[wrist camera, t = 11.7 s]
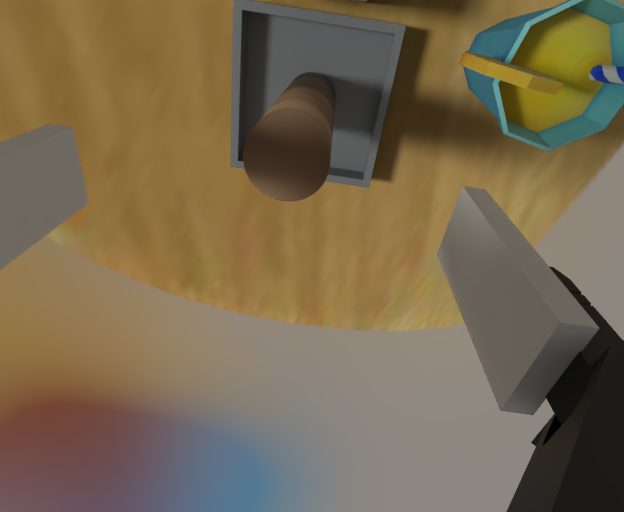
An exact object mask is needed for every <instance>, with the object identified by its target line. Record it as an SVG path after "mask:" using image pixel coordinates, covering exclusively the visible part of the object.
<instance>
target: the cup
mask: <svg viewBox="0 0 624 512" xmlns="http://www.w3.org/2000/svg"><path fill="white" fill-rule="evenodd" d="M459 64H460V65H462V66H463V67H464V71H465V75H466V79H467V83H468V87H469V89H470V90H471V92H472V93H473V94H474V95H475V96H476V97H477V98H478V99H479V100H480V101H481V102H482V103H483V104H484V105H485V106H486V107H487V108H488V109H489V111H490V112H491V113H492V114H493V115H494V116H495V117H496V118H497V119H498V124H499V128H500V130H501V131H502V132H503V134H505V135H507V136H510V137H512V138H515V139H517V140H520V141H523V142H525V143H528V144H530V145H533V146H535V147H538V148H540V149H543V150H546V151H548V152H549V151H551V150H554V149H556V148H559V147H561V146H564V145H567V144H569V143H572V142H574V141H577V140H579V139H582V138H584V137H587V136H590V135H592V134H595V133H597V132H600V131H602V130H605V129H606V128H607V126H608V125H609V124H610V122H611V121H612V120H613V118H614V117H615V116H616V114H617V113H618V112H619V110H620V109H621V108H622V106H623V105H624V4H622V3H620V2H618V1H616V0H568V1H566V2H564V3H562V4H560V5H558V6H556V7H552V8H548V9H545V10H541V11H537V12H533V13H530V14H526V15H522V16H518V17H515V18H511V19H507V20H504V21H502V22H500V23H498V24H496V25H494V26H492V27H490V28H488V29H486V30H484V31H482V32H480V33H478V34H477V35H476V37H475V39H474V41H473V43H472V45H471V47H470V49H469V51H466V52H464V53H463V55H462V57H461V60H460V62H459Z"/></svg>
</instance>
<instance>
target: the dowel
mask: <svg viewBox="0 0 624 512" xmlns="http://www.w3.org/2000/svg"><path fill="white" fill-rule="evenodd" d="M335 101H336V96H335V91H334V88H333V86H332V84H331V82H330V81H329V80H328V79H327V78H326V77H325V76H323V75H321V74H319V73H315V72H307V73H303V74H301V75H299V76H297V77H296V78H295V79H294V80H293V81H292V82H291V84H290V85H289V86H288V87H287V88H286V90H285V91H284V92H283V93H282V94H281V96H280V97H279V98H278V99H277V100H276V102H275V103H274V104H273V105H272V106H271V108H270V109H269V110H268V111H267V112H266V114H265V115H264V116H263V117H262V119H261V120H260V121H259V122H258V123H257V125H256V126H255V127H254V128H253V129H252V131H251V132H250V133H249V135H248V137H247V139H246V142H245V145H244V149H243V162H244V167H245V170H246V173H247V175H248V177H249V179H250V180H251V182H252V183H253V184H254V186H255V187H256V188H257V189H258V190H260V191H261V192H262V193H264V194H265V195H267V196H269V197H271V198H273V199H276V200H280V201H298V200H302V199H305V198H307V197H309V196H311V195H312V194H314V193H315V192H316V191H317V190H318V189H319V188H320V187H321V186H322V185H323V183H324V182H325V180H326V178H327V175H328V173H329V168H330V159H331V147H332V136H333V124H334V112H335Z"/></svg>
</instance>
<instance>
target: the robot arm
mask: <svg viewBox="0 0 624 512" xmlns="http://www.w3.org/2000/svg"><path fill="white" fill-rule="evenodd" d="M88 203H89V202H88V197H87V192H86V188H85V183H84V178H83V174H82V169H81V165H80V160H79V155H78V151H77V146H76V141H75V137H74V132H73V127H67V126H60V125H53V124H48V125H45V126H42V127H40V128H37V129H34V130H32V131H29V132H26V133H24V134H21V135H19V136H16V137H13V138H11V139H8V140H5V141H3V142H0V270H1V269H2V268H3V267H5V266H6V265H7V264H8V263H10V262H11V261H13V260H14V259H15V258H16V257H18V256H19V255H20V254H22V253H23V252H24V251H26V250H27V249H28V248H30V247H31V246H32V245H34V244H35V243H36V242H38V241H39V240H40V239H42V238H43V237H44V236H46V235H47V234H48V233H50V232H51V231H52V230H54V229H55V228H56V227H58V226H59V225H60V224H62V223H63V222H64V221H66V220H67V219H68V218H69V217H71V216H72V215H73V214H75V213H76V212H77V211H79V210H80V209H81V208H83V207H84V206H85V205H87V204H88ZM437 255H438V257H439V260H440V262H441V265H442V267H443V270H444V272H445V275H446V277H447V280H448V282H449V285H450V287H451V290H452V292H453V295H454V297H455V299H456V302H457V304H458V307H459V309H460V312H461V314H462V317H463V319H464V322H465V324H466V327H467V329H468V331H469V334H470V337H471V339H472V341H473V344H474V346H475V349H476V351H477V354H478V356H479V359H480V361H481V364H482V366H483V369H484V371H485V374H486V376H487V379H488V381H489V384H490V386H491V388H492V391H493V393H494V396H495V398H496V401H497V403H498V406H499V408H500V410H501V411H507V412H514V413H521V414H529V415H534V413H535V412H536V411H537V409H538V408H539V407H540V406H541V404H542V403H543V402H544V400H545V399H546V398H547V400H548V402H549V404H550V406H551V407H552V409H553V411H554V413H555V414H554V415H553V416H552V418H551V419H550V420H549V421H548V423H547V424H546V425H545V426H544V427H543V429H542V430H541V431H540V432H539V434H538V435H537V436H536V437H535V438H534V440H533V441H532V444H534V445H535V446H536V448H535V451H534V453H533V455H532V457H531V459H530V461H529V464H528V466H527V468H526V470H525V472H524V475H523V477H522V479H521V481H520V483H519V486H518V488H517V490H516V492H515V494H514V497H513V499H512V501H511V503H510V505H509V508H508V510H507V512H624V341H623V340H622V339H621V338H620V337H619V336H618V334H617V333H616V332H615V331H614V330H613V329H612V327H611V326H610V325H609V324H608V323H607V322H606V320H605V319H604V318H603V317H602V316H601V315H600V314H599V312H598V311H597V310H596V309H595V308H594V307H593V306H591V303H590V302H589V301H588V300H587V298H586V297H585V296H584V295H581V292H580V290H579V289H578V288H577V287H576V286H575V285H574V284H573V282H572V281H571V280H570V279H569V278H567V277H566V276H565V275H563V274H562V273H560V272H559V271H557V270H556V269H555V268H553V267H549V266H548V265H547V264H546V263H545V261H544V260H543V259H542V258H541V257H540V255H539V254H538V253H537V252H536V251H535V249H534V248H533V247H532V246H531V244H530V243H529V242H528V241H527V240H526V238H525V237H524V236H523V235H522V234H521V232H520V231H519V230H518V229H517V228H516V226H515V225H514V224H513V223H512V221H511V220H510V219H509V218H508V217H507V215H506V214H505V213H504V212H503V211H502V209H501V208H500V207H499V206H498V204H497V203H496V202H495V201H494V200H493V198H492V197H491V196H490V195H489V194H488V192H487V191H486V190H485V189H478V188H472V187H465V186H463V187H462V190H461V192H460V195H459V198H458V200H457V203H456V206H455V208H454V211H453V214H452V216H451V219H450V222H449V224H448V227H447V229H446V232H445V235H444V237H443V240H442V243H441V245H440V248H439V251H438V253H437Z"/></svg>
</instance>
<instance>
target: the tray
mask: <svg viewBox="0 0 624 512" xmlns="http://www.w3.org/2000/svg"><path fill="white" fill-rule="evenodd" d="M405 28H406V25H401V24H394V23H388V22H382V21H376V20H369V19H363V18H357V17H350V16H344V15H338V14H332V13H325V12H319V11H313V10H306V9H300V8H294V7H287V6H281V5H275V4H269V3H262V2H256V1H250V0H233V55H232V115H231V167H236V168H243V169H245V167H244V162H243V149H244V145H245V142H246V139H247V137H248V135H249V133H250V132H251V131H252V129H253V128H254V127H255V126H256V125H257V123H258V122H259V121H260V120H261V119H262V117H263V116H264V115H265V114H266V112H267V111H268V110H269V109H270V108H271V106H272V105H273V104H274V103H275V102H276V100H277V99H278V98H279V97H280V96H281V94H282V93H283V92H284V91H285V90H286V88H287V87H288V86H289V85H290V84H291V82H292V81H293V80H294V79H295V78H296V77H297V76H299V75H301V74H303V73H307V72H315V73H319V74H321V75H323V76H325V77H326V78H327V79H328V80H329V81H330V82H331V84H332V86H333V88H334V91H335V96H336V101H335V112H334V124H333V136H332V147H331V159H330V168H329V173H328V175H327V178H326V180H325V181H329V182H335V183H342V184H348V185H355V186H361V187H368V188H369V185H370V181H371V177H372V172H373V168H374V163H375V159H376V155H377V150H378V146H379V142H380V137H381V133H382V129H383V124H384V120H385V116H386V111H387V107H388V102H389V98H390V94H391V89H392V85H393V81H394V76H395V72H396V68H397V63H398V59H399V55H400V50H401V46H402V41H403V37H404V33H405Z"/></svg>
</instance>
